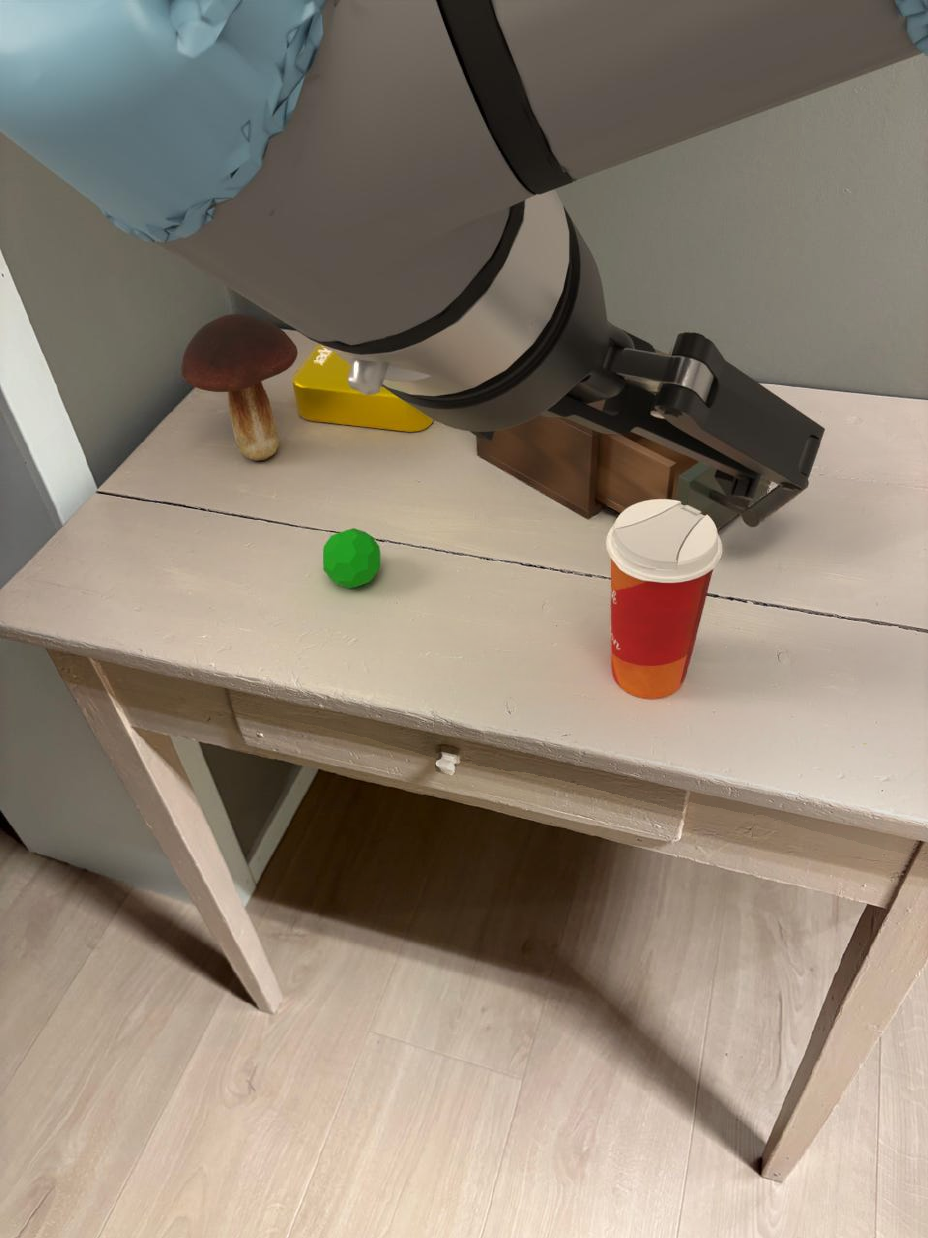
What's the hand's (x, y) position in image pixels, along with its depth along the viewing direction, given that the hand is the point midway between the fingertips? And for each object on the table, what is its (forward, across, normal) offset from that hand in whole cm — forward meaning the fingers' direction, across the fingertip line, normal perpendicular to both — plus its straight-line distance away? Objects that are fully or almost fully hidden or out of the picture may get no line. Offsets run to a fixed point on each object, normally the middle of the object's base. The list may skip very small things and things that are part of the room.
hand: (614, 445), depth 48 cm
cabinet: (+44, -16, +6) cm, 47 cm away
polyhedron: (+26, -26, -12) cm, 39 cm away
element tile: (+46, -41, +7) cm, 62 cm away
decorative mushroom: (+35, -45, -4) cm, 57 cm away
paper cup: (+27, 0, -12) cm, 29 cm away
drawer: (+40, -4, +3) cm, 41 cm away
